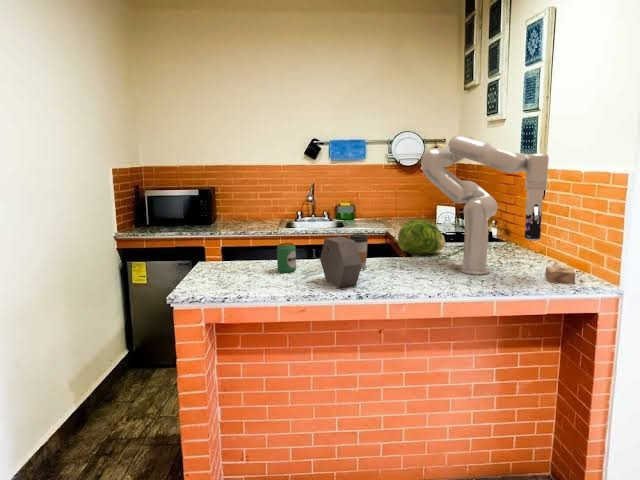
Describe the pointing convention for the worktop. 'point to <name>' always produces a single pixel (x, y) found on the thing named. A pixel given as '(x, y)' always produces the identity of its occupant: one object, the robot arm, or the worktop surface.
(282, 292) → the worktop surface
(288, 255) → the beverage can
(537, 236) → the beverage can
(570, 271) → the plinth
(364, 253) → the coffee cup
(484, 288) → the worktop surface
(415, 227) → the lettuce
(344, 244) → the dark hexagonal prism
